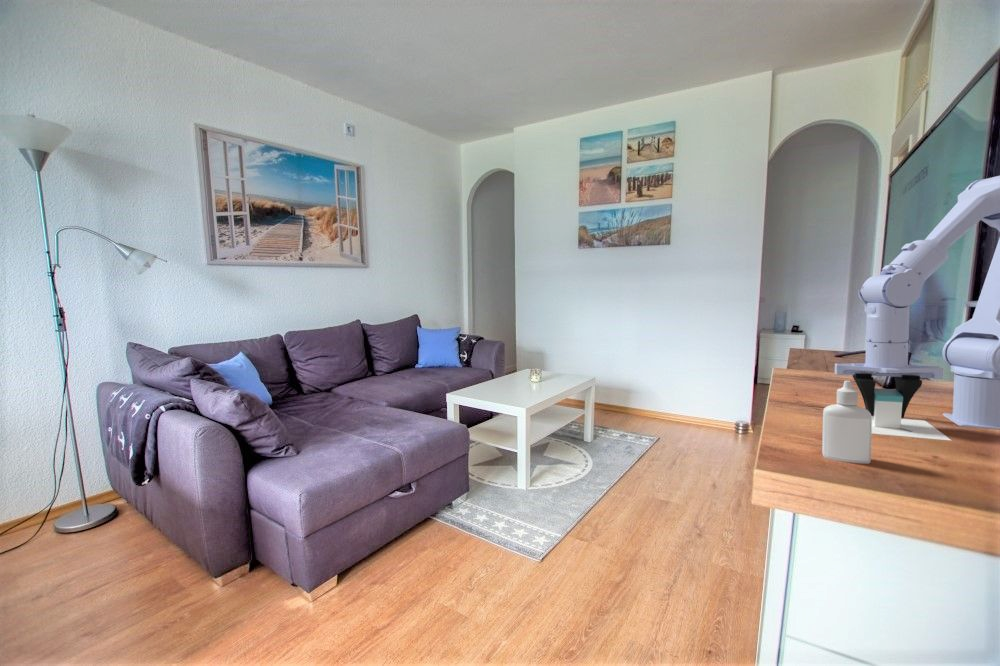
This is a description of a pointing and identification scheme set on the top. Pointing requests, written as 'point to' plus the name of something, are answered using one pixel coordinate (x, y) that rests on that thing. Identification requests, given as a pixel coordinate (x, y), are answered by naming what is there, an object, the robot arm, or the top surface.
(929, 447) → the top surface
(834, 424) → the eye dropper bottle
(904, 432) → the paper
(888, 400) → the white and teal box
